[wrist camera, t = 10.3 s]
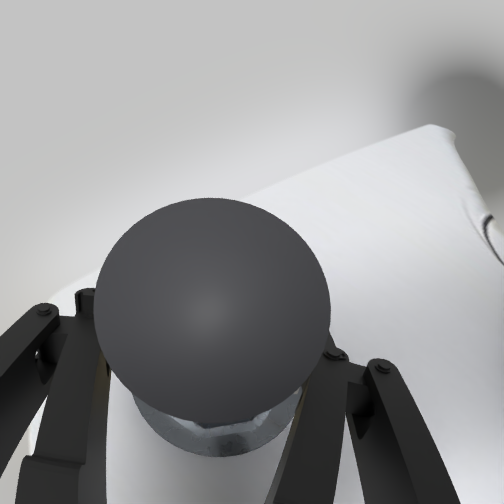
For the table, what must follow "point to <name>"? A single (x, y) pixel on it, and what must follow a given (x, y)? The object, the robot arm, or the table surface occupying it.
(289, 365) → the capped yellow cylinder
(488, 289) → the table surface
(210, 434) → the grey round dish
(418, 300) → the table surface
